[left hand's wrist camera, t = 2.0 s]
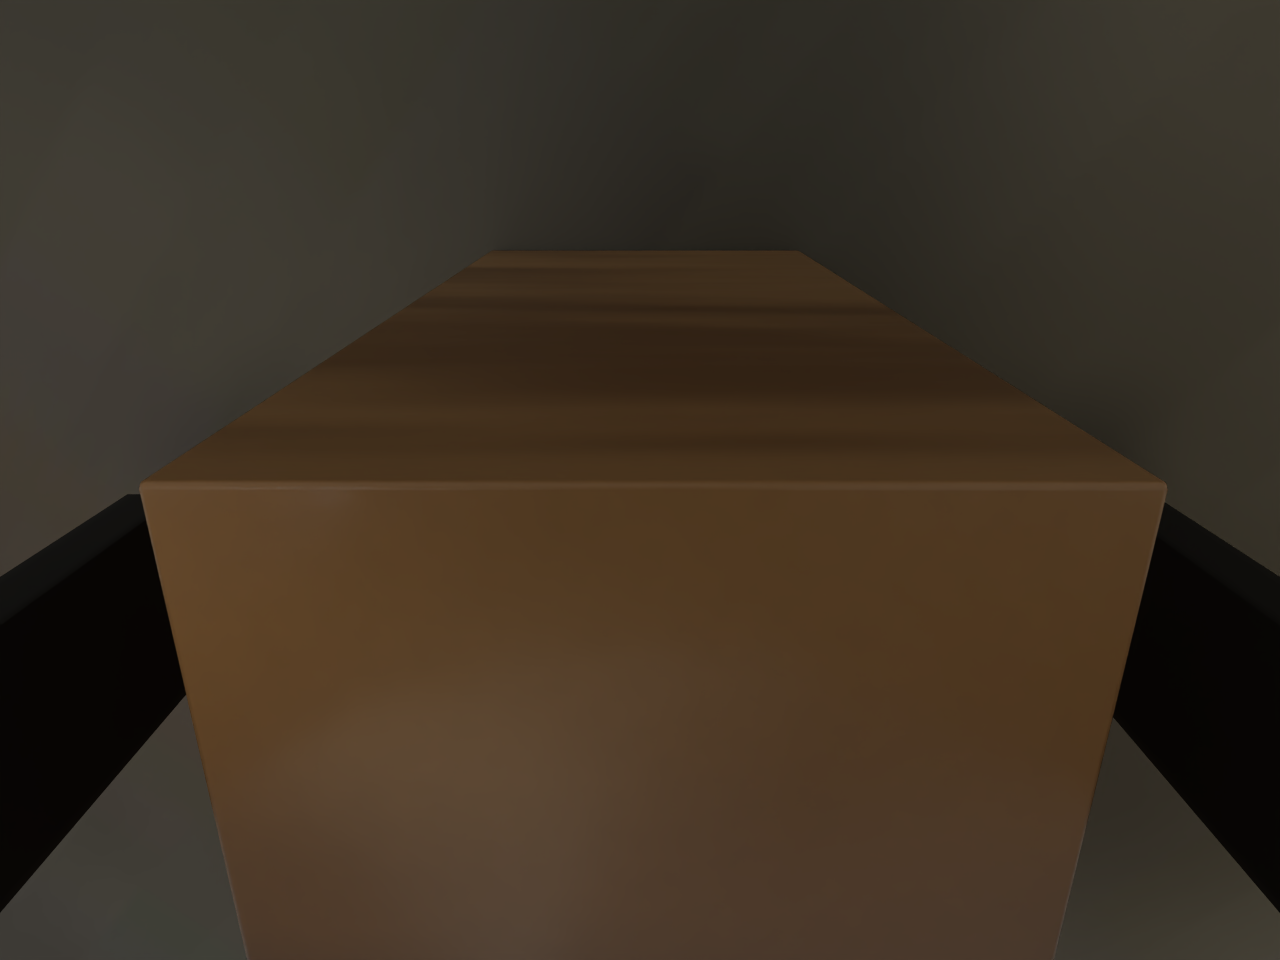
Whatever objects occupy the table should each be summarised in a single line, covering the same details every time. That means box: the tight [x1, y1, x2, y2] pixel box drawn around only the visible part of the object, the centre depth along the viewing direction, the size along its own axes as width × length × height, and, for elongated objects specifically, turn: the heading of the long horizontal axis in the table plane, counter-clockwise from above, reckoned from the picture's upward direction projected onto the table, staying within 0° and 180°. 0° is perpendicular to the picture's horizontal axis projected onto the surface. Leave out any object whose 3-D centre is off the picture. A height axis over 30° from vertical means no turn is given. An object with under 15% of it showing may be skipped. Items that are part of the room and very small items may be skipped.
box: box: [139, 251, 1168, 960], centre depth 15 cm, size 21×6×13 cm, turn 0°
